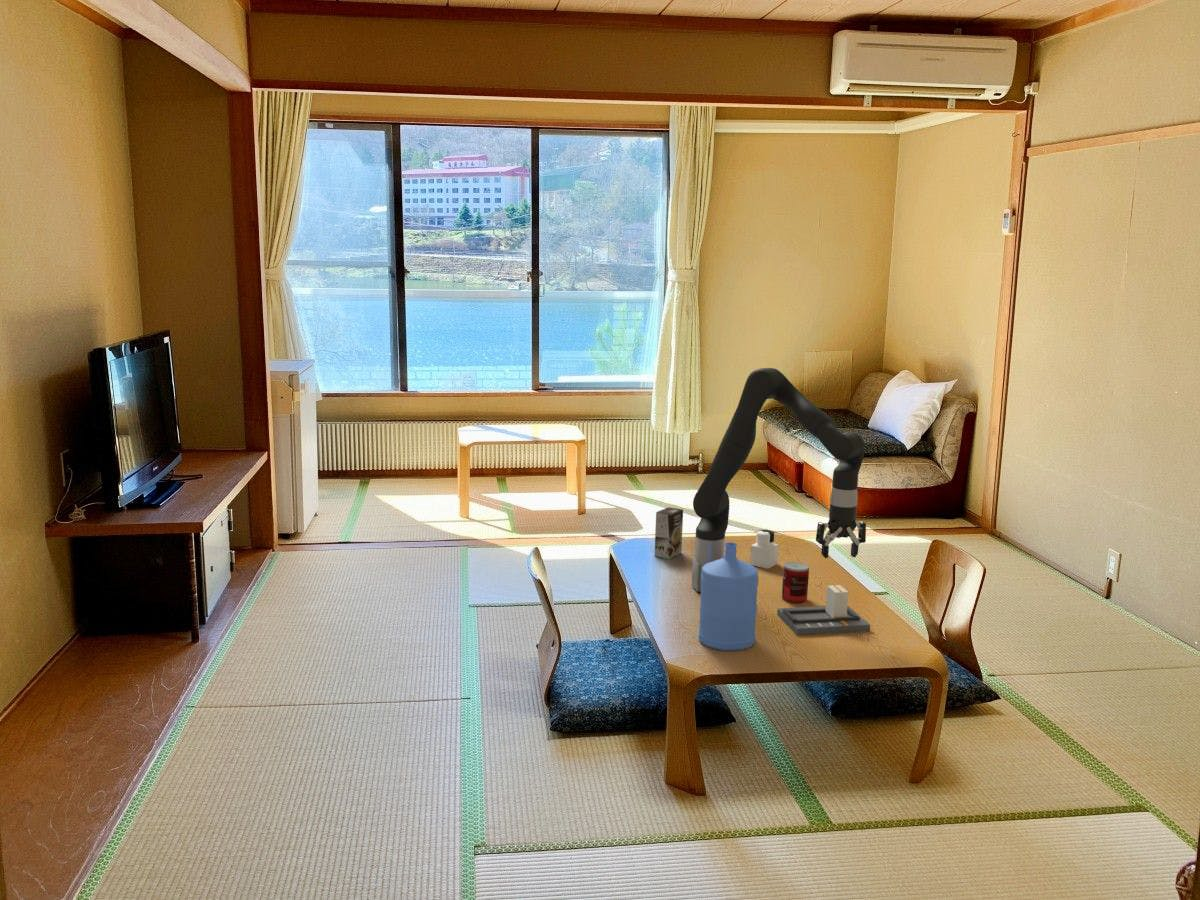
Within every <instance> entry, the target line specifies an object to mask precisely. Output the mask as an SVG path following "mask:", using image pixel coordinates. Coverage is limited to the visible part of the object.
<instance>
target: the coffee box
mask: <svg viewBox="0 0 1200 900" xmlns="http://www.w3.org/2000/svg"><path fill="white" fill-rule="evenodd" d="M683 522H684V509H683V508H682V509H681V508H677V507H675V508H674V507H669V506H668V507H665V508H664V509H663V508H662V509H660V510H657V511H656V512H655V529H654V530H655V533H654V557H657V556H658V558H662V557H663V558H662V559H666V558H667V559H666V560H671V559H672V557H673V558H675V557H677V556H678V554H679V555H680V553H681V554H682V551H683V550H682V549H683V526H684V525H683ZM676 555H677V556H676ZM674 556H675V557H674ZM670 558H671V559H670Z"/></svg>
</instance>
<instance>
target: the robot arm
mask: <svg viewBox="0 0 1200 900" xmlns="http://www.w3.org/2000/svg"><path fill="white" fill-rule="evenodd" d="M739 398H740V399H739V401H738V404H737V406H736V409H735V411H734V413H733V416H732V417H731V420H730V422H729V425H728V427H727V429H726V431H725V433H724V435H723V437H722V439H721V442H720V444H719V446H718V448H717V452H716V453H715V456H714V458H713V460H712V462H711V465H710V468H709V470H708V472H707V475H706V476H705V477H704V479H703V481H702V483H701V485H700V486H699V488H698V489H697V491H696V493H695V494H694V496H693V502H692V507H693V511H694V513H695V514H696V515H697V517H699V518H700V520H699V522H698V524H697V526H696V529H695V542H694V543H695V544H694V545H695V546H694V547H695V548H694V557H693V558H692V569H691V571H692V574H691V575H692V576H691V586H692V588H693V589H694V591H695V592H697V593H701V573H702V567H703V566H704V565H705V564H707V563H709V562H713V561H716V560H719V559H722V558H724V557H725V548H726V546H725V542H726V532H727V529H728V527H729V526H728V525H729V517H730V496H729V494H728V491H727V487H728V485H729V483H730V482H731V481H732V479H733V478H734V477H735V475H736V474H737V473H738V472H739V470H740V469H741V468H742V467H743V465H744V464H745V462H746V461H747V459H748V457H749V455H750V453H751V451H752V449H753V446H754V445H755V444H754V443H755V441H756V435H757V421H758V416H759V414H760V412H761V410H762V408H763V407H764V404H765V403H766V401H767V400H771V399H772V400H775V401H776V402H778V403H780V404H781V405H783V406H784V407H786V408H787V409H788V410H789V411H790V412H791V414H792V415H793V416H794V417H795V419H796V421H797V422H798V423H799V424H800V426H801V427H803V429H804V430H806V431H807V432H808V433H810V434H811V435H812V436H814V437H815V438H817V439H818V440H819V441H820V443H821V444H822V446H823V447H824V448H825V449H826V450H827V451H828V453H829V454H830V455H831V456H833V457H834V458H836V459H838V460H840V461H839V464H837V466H836V467H835V468H834V469H833V473H832V485H831V492H830V498H829V511H828V513H829V514H828V521H827V522H821V521H817V527H816V534H815V535H816V536H815V541H816V542H817V543H818V544H819V545H821V553H820V554H821V555H822V557H823V558H824V559H828V558H829V554H830V553H829V551H830V546H829V545H830V543H831V542H833V541H834V540H835V539H836V538H837V539H840V538H845V539H846V538H849V539H850V540H851V542H852V543H851V545H850V546H851V547H850V557H852V558H857V556H858V555H859V545H860V544H865V543H866V541H867V540H866V539H867V523H865V522H864V521H863V520H859V521H857V520H856V519H857V510H858V500H859V498H858V495H859V494H858V486H859V485H858V483H859V473H860V470H861V466H862V464H863V460H864V457H865V452H866V451H865V450H866V446H865V445H866V444H865V441H864V438H863V437H862V436H861V434H858V433H857V432H849V433H848V432H847V433H845V434H844V433H842V432H841V431H840V430H839V429H838V423H837V421H836V420H834V419H833V418H832V417H831V416H829V415H828V414H827V413H825V412H824V411H823V410H821V408H819V407H817V405H816V404H814V403H812V401H810V400H809V399H808V398H807V397H805V395H804V394H803V393H801V391H799V389H797V388H796V387H795V386H794V384H793V383H792V382H791V381H790V380H789V379H788V378H787V376H785V375H784V373H782V372H781V371H780V370H779V369H778V368H777V369H776V368H775V367H765V368H764V367H763V368H761V367H760V368H757V369H754V370H753V371H752V372H750V373H749V375H748V376H747V378H746V381H745V383H744V386H743V389H742V393H741V396H740V397H739ZM856 528H857V529H858V532H857V534H858V537H857V536H856V533H854V532H855V529H856ZM827 529H828V531H827V532H826V533H825V531H826V530H827ZM824 535H825V536H824Z"/></svg>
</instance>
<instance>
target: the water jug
mask: <svg viewBox="0 0 1200 900" xmlns="http://www.w3.org/2000/svg"><path fill="white" fill-rule="evenodd" d="M737 547H738V544H737V543H735V542H726V543H725V548H724V558H722V559H719V560H716V561H713V562H709V563H707V564H705V565H704V566H703V567H702V573H701V592H700V605H699V612H700V613H699V626H698V627H699V628H698V639H699V641H700V642H701V643H702V644H703V645H705V646H706V647H709V648H711V649H714V650H717V651H718V650H719V651H725V652H727V651H729V652H733V651H734V652H735V651H742V650H746V649H748V648H750V647H752V646H753V645H754V644H755V642H756V623H757V622H756V619H757V611H758V606H757V604H758V603H757V601H758V600H757V599H758V586H759V571H758V569H757V568H756V566H753V565H750V563H748V562H745V561H743V560H741V559H739V558H737V551H738V550H737Z"/></svg>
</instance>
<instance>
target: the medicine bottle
mask: <svg viewBox="0 0 1200 900" xmlns="http://www.w3.org/2000/svg"><path fill="white" fill-rule="evenodd" d="M755 534H756V538H755V543H753V544H751V545H750V558H749V559H750V560H749V564H750V565H752V566H754V567H759V568H762V569H767V570H769V569H771V568H772V567H774V566H776V565H777V564H778V563H779V562H778V561H779V560H778V557H779V544H778V543H775V533H774V531H772V530H770V529H759V530H757V531H756V533H755Z"/></svg>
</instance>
